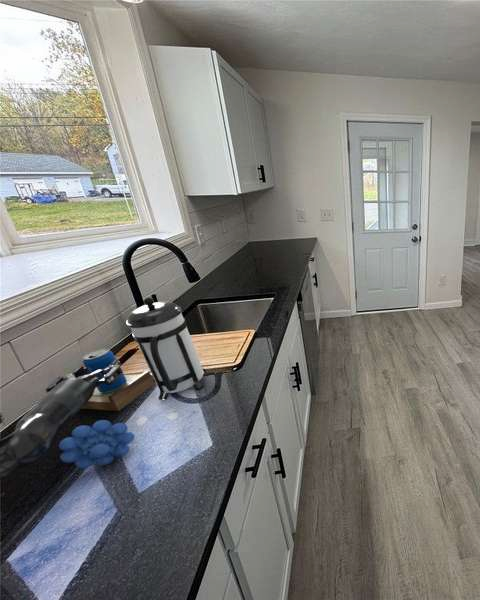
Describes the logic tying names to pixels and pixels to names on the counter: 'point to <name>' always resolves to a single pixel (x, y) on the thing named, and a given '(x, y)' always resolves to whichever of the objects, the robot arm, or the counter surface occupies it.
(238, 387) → the counter surface
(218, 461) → the counter surface
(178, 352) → the coffee press
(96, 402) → the shallow wooden tray
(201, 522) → the counter surface
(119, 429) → the blue lobed cluster
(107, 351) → the beverage can
